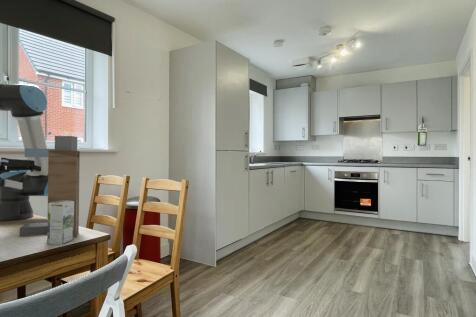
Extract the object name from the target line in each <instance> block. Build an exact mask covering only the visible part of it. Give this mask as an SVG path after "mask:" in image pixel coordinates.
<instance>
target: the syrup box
mask: <svg viewBox="0 0 476 317" xmlns="http://www.w3.org/2000/svg"><path fill="white" fill-rule="evenodd" d="M47 223H48V236H47V237H46V238H47V242H46V243H47V244H48V245H64V244H67V243H69V242H72V241H74V238H73V229H74V201H70V200H60V201H55V202H50V203H49V204H48V203H47Z"/></svg>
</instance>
